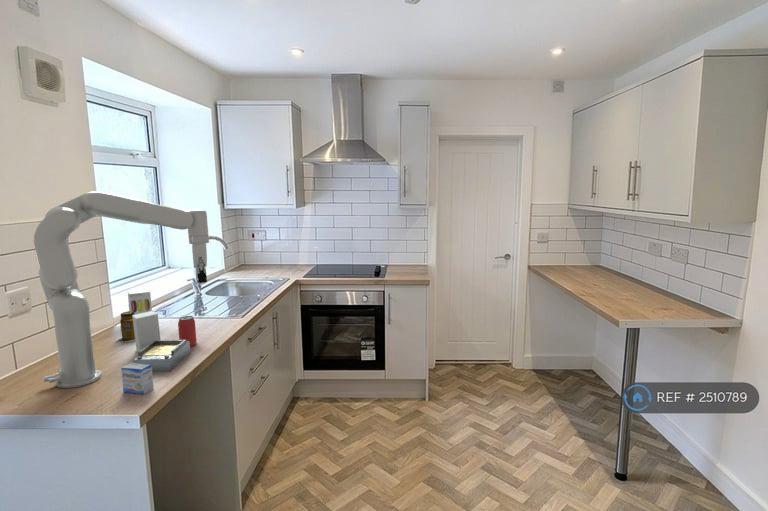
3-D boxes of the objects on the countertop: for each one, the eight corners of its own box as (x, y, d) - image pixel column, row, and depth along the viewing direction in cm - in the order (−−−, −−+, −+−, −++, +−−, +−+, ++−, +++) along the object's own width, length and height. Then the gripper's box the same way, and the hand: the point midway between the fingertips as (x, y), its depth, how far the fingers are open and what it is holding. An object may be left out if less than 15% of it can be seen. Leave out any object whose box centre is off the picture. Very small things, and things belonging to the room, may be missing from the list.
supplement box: (131, 327, 196) (127, 294, 193) (129, 322, 203) (126, 290, 201) (153, 323, 201) (150, 291, 199) (151, 319, 209) (148, 287, 206)
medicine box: (122, 392, 131) (120, 367, 130) (133, 386, 136) (130, 362, 134) (144, 394, 130) (141, 369, 129) (154, 388, 134) (151, 363, 133)
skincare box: (157, 345, 173) (154, 310, 170) (162, 349, 168) (159, 313, 166) (135, 350, 167) (131, 314, 164) (139, 355, 162) (135, 318, 160)
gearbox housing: (170, 371, 147) (168, 354, 146) (135, 372, 146) (133, 355, 145) (190, 352, 165) (189, 337, 164) (159, 353, 164) (157, 337, 163)
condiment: (142, 335, 185) (139, 310, 183) (131, 342, 176) (128, 316, 174) (126, 335, 184) (123, 310, 183) (114, 342, 176) (111, 316, 174)
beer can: (192, 340, 178) (190, 314, 176) (199, 344, 174) (197, 317, 172) (177, 344, 173) (174, 318, 171) (184, 348, 169) (181, 321, 167)
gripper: (189, 237, 171) (192, 277, 174) (188, 242, 155) (192, 285, 158) (208, 236, 174) (211, 275, 177) (209, 241, 158) (213, 283, 161)
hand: (202, 280), depth 167 cm, fingers open, 9 cm apart
